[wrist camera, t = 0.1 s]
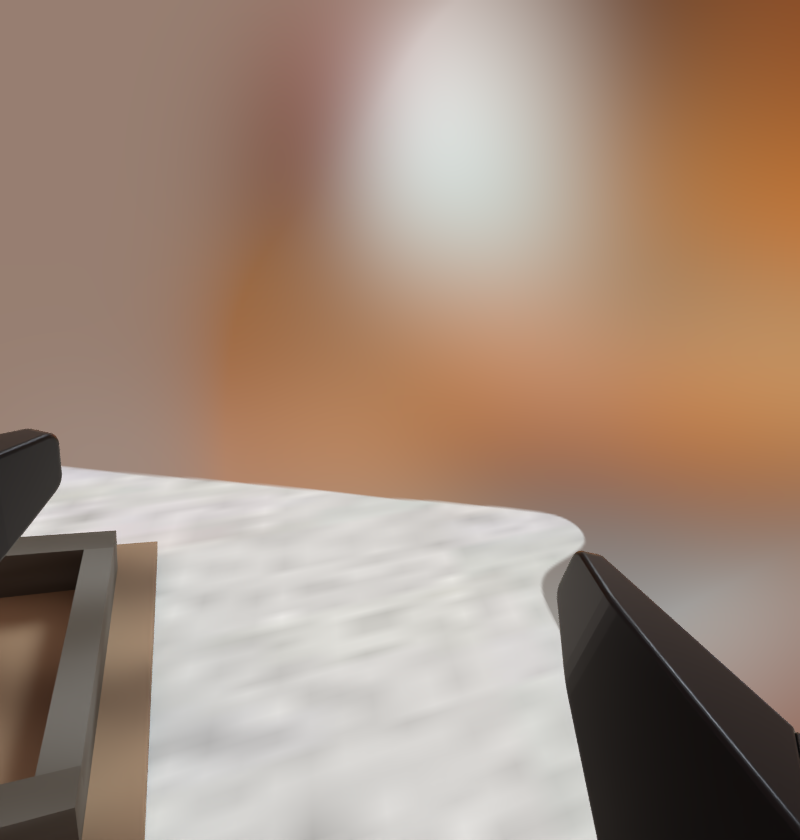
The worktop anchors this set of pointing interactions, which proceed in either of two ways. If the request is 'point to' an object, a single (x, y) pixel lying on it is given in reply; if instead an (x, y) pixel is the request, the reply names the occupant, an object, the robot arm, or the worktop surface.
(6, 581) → the socket
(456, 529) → the worktop surface
